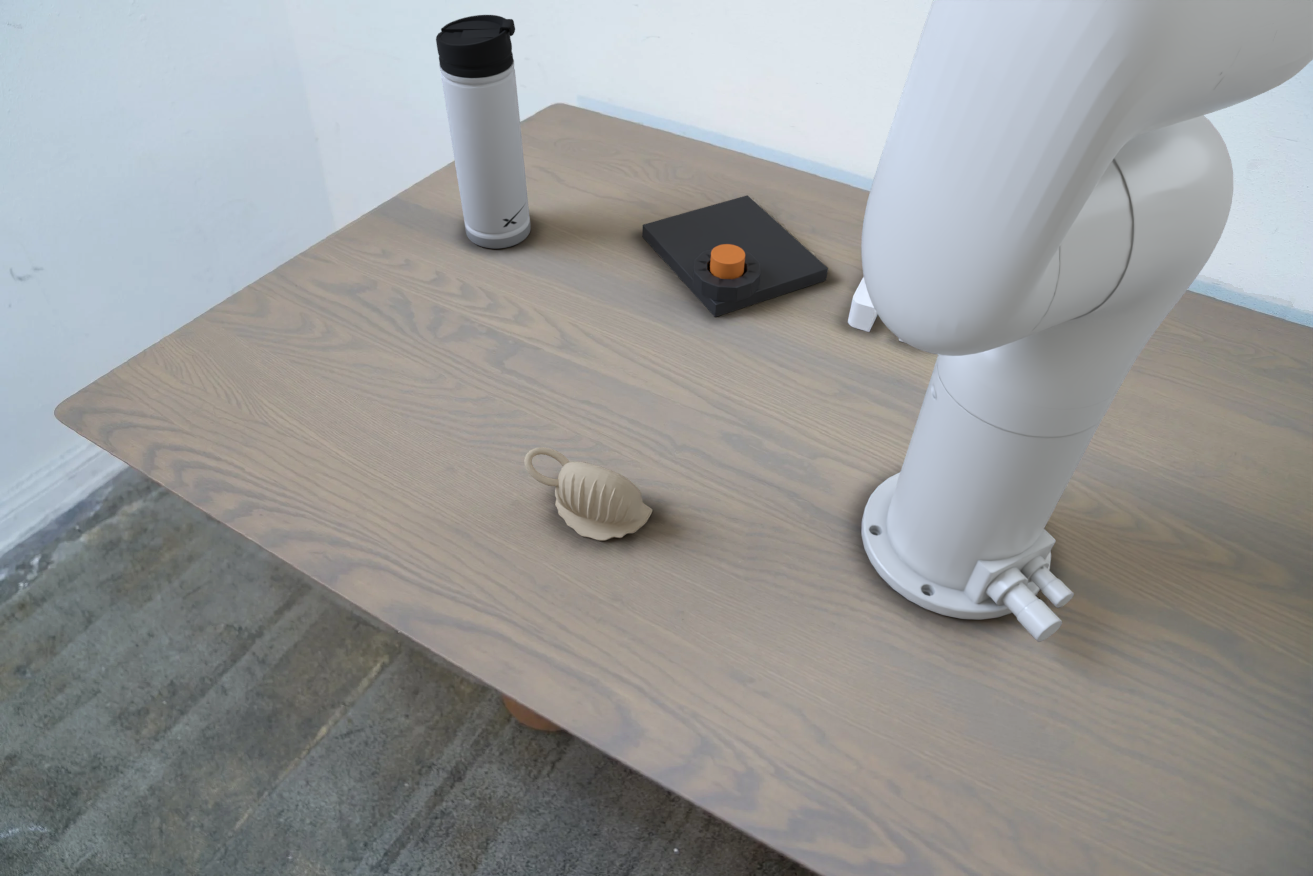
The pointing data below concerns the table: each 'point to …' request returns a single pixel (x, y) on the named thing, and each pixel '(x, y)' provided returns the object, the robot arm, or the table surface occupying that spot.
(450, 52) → the travel mug
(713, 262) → the button
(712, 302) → the black flat block
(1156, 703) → the table surface
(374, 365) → the table surface
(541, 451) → the decorative ornament
